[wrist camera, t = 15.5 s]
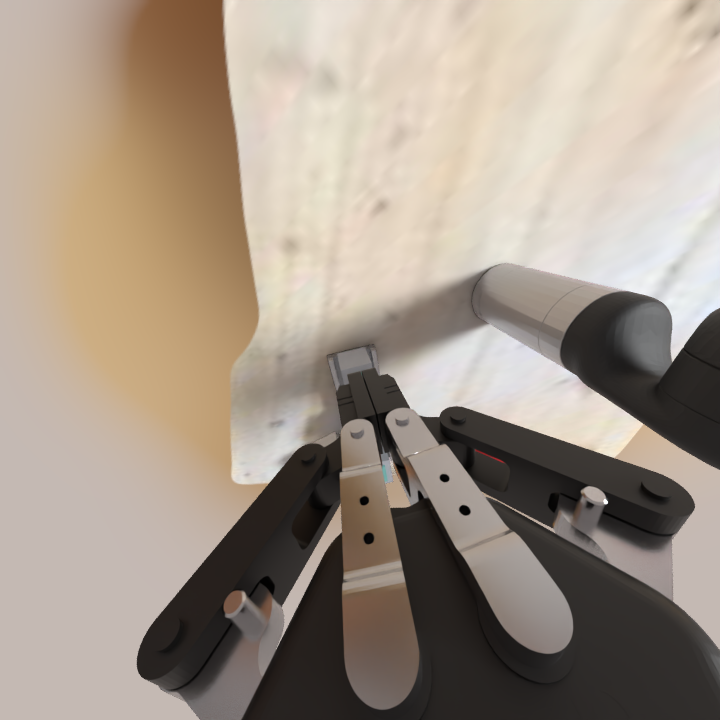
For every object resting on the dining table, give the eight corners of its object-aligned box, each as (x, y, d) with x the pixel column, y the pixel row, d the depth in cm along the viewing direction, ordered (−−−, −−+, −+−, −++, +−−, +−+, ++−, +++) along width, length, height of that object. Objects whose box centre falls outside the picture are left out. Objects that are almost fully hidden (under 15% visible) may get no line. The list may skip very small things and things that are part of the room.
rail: (373, 344, 44) (376, 350, 42) (391, 451, 56) (394, 459, 54) (326, 355, 43) (327, 361, 41) (355, 461, 55) (357, 469, 53)
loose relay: (334, 431, 51) (337, 451, 46) (344, 444, 53) (348, 464, 48) (311, 442, 51) (312, 464, 47) (322, 455, 53) (323, 476, 49)
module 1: (364, 346, 42) (372, 363, 37) (370, 378, 45) (378, 397, 40) (336, 353, 42) (340, 371, 37) (344, 385, 45) (349, 405, 40)
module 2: (382, 438, 52) (389, 461, 47) (386, 459, 55) (393, 482, 50) (359, 444, 52) (365, 467, 47) (365, 465, 55) (370, 489, 50)
